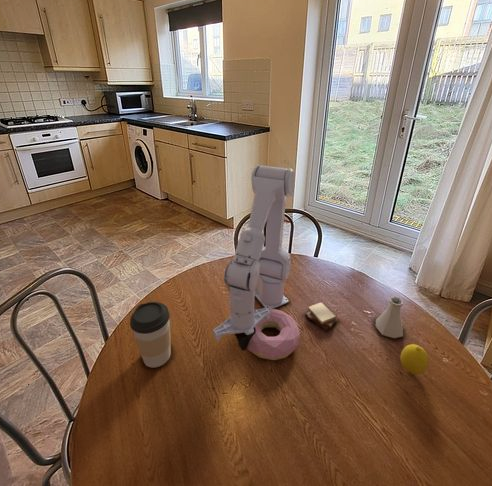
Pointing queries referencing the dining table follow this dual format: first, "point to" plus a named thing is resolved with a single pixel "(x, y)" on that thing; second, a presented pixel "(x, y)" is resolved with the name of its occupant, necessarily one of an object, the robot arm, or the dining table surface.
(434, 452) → the dining table surface
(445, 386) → the dining table surface
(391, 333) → the flask
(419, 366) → the lemon
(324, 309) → the letter pile
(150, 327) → the coffee cup
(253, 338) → the donut
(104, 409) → the dining table surface
